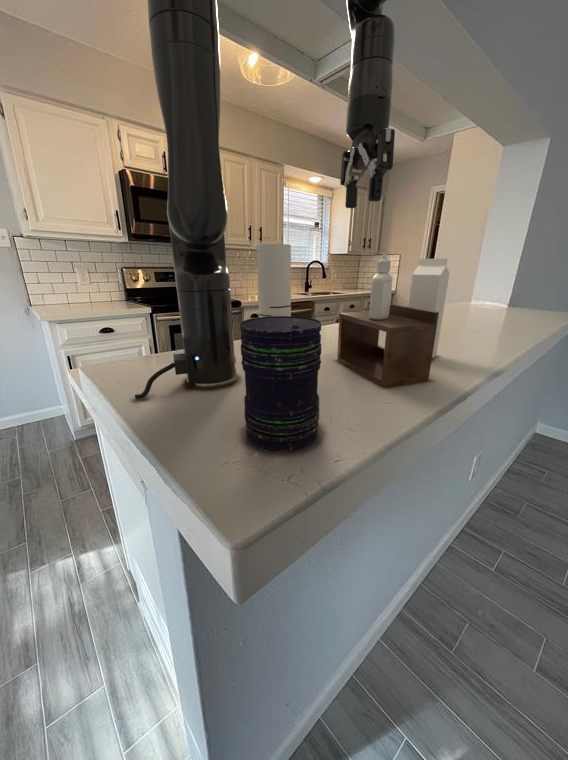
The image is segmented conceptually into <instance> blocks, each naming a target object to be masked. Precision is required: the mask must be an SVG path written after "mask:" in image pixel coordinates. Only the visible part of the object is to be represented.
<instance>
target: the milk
mask: <svg viewBox="0 0 568 760" xmlns="http://www.w3.org/2000/svg"><path fill="white" fill-rule="evenodd" d="M449 278H450V272H449V269H448V258H419V260H418V265H417V267H416V269H415V270H414V271H413V273H412V274H411V283H410V288H409V289H410V290H409V297H408V306H407V307H412V308H417V309H423V310H428V311H434V312H439V316H438V322H437V329H436V335H435V342H434V348H433V355H432V359H433V358H435V357H437V353H438V347H439V341H440V334H441V328H442V321H443V315H444V309H445V303H446V299H447V290H448V285H449Z"/></svg>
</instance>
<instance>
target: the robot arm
mask: <svg viewBox="0 0 568 760" xmlns="http://www.w3.org/2000/svg"><path fill="white" fill-rule="evenodd" d="M388 1H389V0H346V9H347V16H348V23H349V24H348V25H349V31H350V36H351V57H350V58H351V59H350V73H349V80H348V86H347V87H348V88H347V105H346V106H347V107H346V125H345V134H346V136H347V137H348V138H350V140H351V147H350V150H343V151H342V153H341V154H342V155H341V166H340V181H339V183H340V186H344V187H345V203H344V204H345V208H346V209H355V208H357V204H358V202H357V201H358V185H359V183H360V180H361V178H362V177H364V175H365V172H366V171H367V170H368V172H369V174H370V177H369V185H368V197H367V198H368V202H374V203H376V202H380V201H381V199H382V192H383V191H382V190H383V182H384V177H385V176H386V174H387V172H388V171H392V169H393V166H394V151H395V136H396V135H395V134H396V130H395V128H389V127H390V118H391V117H390V116H391V104H392V95H393V83H394V82H393V81H394V79H393V65H394V53H395V41H396V27H395V23H394V21H393V19H392V18H391V17H390V16H389V15H386V14H384V13H383V11H384V10H383V9H384V6H385V5H386V3H387V2H388ZM217 2H218V1H217V0H147V17H148V29H149V38H150V39H149V41H150V49H151V51H150V52H151V59H152V60H151V61H152V67H153V74H154V81H155V86H156V87H155V88H156V92H157V97H158V103H159V108H160V112H161V115H162V116H161V117H162V121H163V125H164V130H165V134H166V135H165V136H166V137H165V138H166V144H167V201H166V202H167V203H166V215H167V221H168V225H169V227H168V228H169V235H170V244H171V251H172V259H173V269H174V270H173V272H174V280H175V287H176V295H177V303H178V312H179V319H180V328H181V341H182V349H183V352H182V353H173V354H172V357H173V362H171V363H169V364H168V365H167V366H164V367H163V368H160V369H159V370H157V371H156V372H155V373H153V375H151V376H150V377H149V379H148V380H147V381H146V385H145V388H144V390H143V391H142V393H137V394H134V398H135V400H142V399H144V398H145V397H147V396H148V395H149V393H150V391H151V389H152V385H153V383H154V382H155V381H156V379H158V378H159V377H160V376H162V375H163V374H165V373H167V372H168V371H170V370H172V369H174V372H175V375H176V376H177V375H186V381H187V385H188V388H189V389H201V390H211V389H219V388H223V387H227V386H231V385H232V384H234V383H236V381H237V379H238V378H237V375H238V374H237V368H236V363H237V358H236V353H235V339H234V324H233V323H234V322H233V310H232V293H231V277H230V272H229V268H228V262H227V253H226V238H225V232H226V230H227V227H228V221H229V217H228V216H229V214H228V206H227V200H226V194H225V186H224V180H223V170H222V162H221V153H220V125H221V124H220V122H221V51H220V50H221V49H220V32H219V31H220V30H219V18H218V17H219V16H218V3H217ZM384 155H386V160H385V157H384Z"/></svg>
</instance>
